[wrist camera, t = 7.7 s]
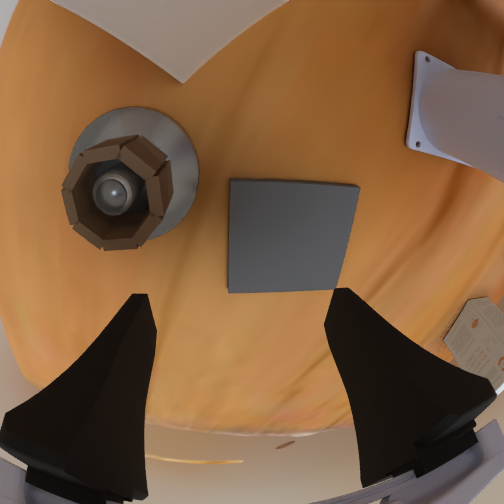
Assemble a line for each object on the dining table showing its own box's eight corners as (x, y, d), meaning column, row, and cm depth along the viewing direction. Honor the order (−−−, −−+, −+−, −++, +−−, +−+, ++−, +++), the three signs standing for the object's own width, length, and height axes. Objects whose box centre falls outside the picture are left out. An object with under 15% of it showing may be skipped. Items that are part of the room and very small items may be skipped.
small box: (464, 334, 33) (501, 392, 22) (441, 340, 33) (481, 406, 22) (488, 295, 29) (535, 354, 18) (468, 298, 28) (519, 366, 17)
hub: (200, 102, 15) (193, 103, 11) (200, 233, 19) (196, 267, 16) (69, 117, 14) (34, 126, 10) (86, 235, 18) (63, 267, 15)
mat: (356, 185, 19) (360, 187, 18) (333, 284, 23) (335, 289, 23) (230, 178, 18) (230, 181, 17) (228, 288, 22) (228, 293, 22)
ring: (176, 219, 18) (168, 246, 15) (98, 226, 17) (78, 252, 14) (168, 130, 15) (155, 139, 12) (82, 144, 14) (54, 158, 11)
